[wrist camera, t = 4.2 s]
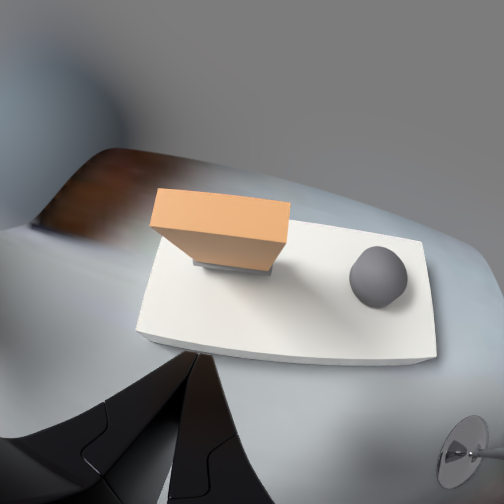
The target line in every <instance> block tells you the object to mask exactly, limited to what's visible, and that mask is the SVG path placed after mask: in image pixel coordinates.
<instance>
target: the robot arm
mask: <svg viewBox="0 0 504 504" xmlns="http://www.w3.org/2000/svg"><path fill="white" fill-rule="evenodd" d="M172 462H173V464H172ZM171 465H172V470H171V477H170V484H169V492H168V501H167V504H275V503H274V501H273V500H272V499H271V497H270V495H269V494H268V492H267V491H266V489H265V488H264V486H263V485H262V483H261V481H260V480H259V478H258V477H257V475H256V473H255V471H254V469H253V468H252V466H251V464H250V462H249V460H248V458H247V455H246V453H245V451H244V448H243V446H242V443H241V440H240V438H239V435H238V433H237V430H236V427H235V424H234V421H233V418H232V415H231V412H230V409H229V406H228V403H227V400H226V397H225V394H224V391H223V387H222V384H221V381H220V378H219V374H218V371H217V368H216V364H215V361H214V358H213V356H212V355H208V354H203V353H200V354H199V355H198V353H197V352H191V351H183V352H182V353H180V354H179V355H177V356H176V357H174V358H173V359H171V360H170V361H168V362H167V363H165V364H163V365H162V366H160V367H159V368H157V369H156V370H154V371H152V372H151V373H149V374H148V375H146V376H145V377H143V378H141V379H140V380H138V381H137V382H135V383H133V384H132V385H130V386H128V387H127V388H125V389H123V390H122V391H120V392H119V393H117V394H115V395H114V396H112V397H110V398H109V399H107V400H105V403H104V402H102V403H100V404H98V405H96V406H95V407H93V408H91V409H89V410H87V411H86V412H84V413H82V414H80V415H78V416H76V417H73V418H71V419H69V420H67V421H64V422H62V423H60V424H57V425H54V426H52V427H49V428H47V429H44V430H41V431H39V432H36V433H33V434H30V435H27V436H24V437H20V438H2V437H0V504H157V501H158V498H159V496H160V493H161V491H162V488H163V485H164V483H165V480H166V478H167V475H168V472H169V470H170V467H171Z"/></svg>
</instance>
